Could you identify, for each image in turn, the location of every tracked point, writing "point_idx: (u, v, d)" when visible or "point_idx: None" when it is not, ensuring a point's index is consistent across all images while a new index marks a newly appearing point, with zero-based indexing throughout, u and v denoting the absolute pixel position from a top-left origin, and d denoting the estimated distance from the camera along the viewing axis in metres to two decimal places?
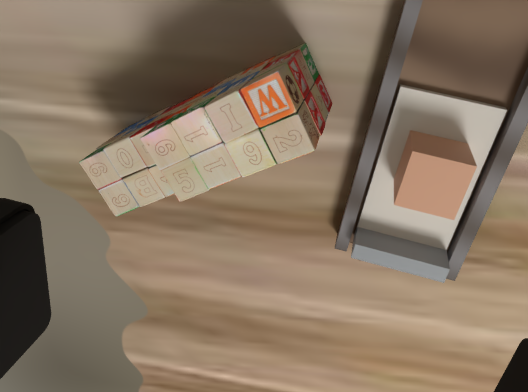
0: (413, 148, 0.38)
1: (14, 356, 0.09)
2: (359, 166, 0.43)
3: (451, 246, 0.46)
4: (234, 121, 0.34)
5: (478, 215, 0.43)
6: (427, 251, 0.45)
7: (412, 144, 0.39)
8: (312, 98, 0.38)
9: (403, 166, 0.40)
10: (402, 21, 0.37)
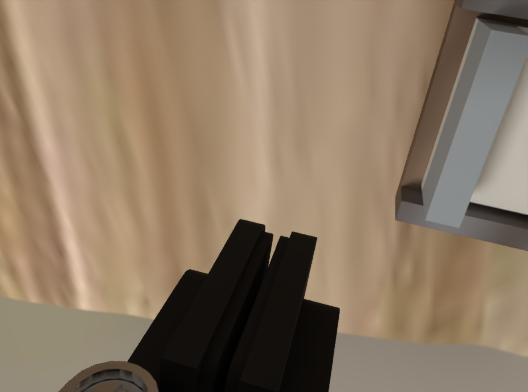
0: None
1: None
2: None
3: None
4: None
5: None
6: None
7: None
8: None
9: None
10: None
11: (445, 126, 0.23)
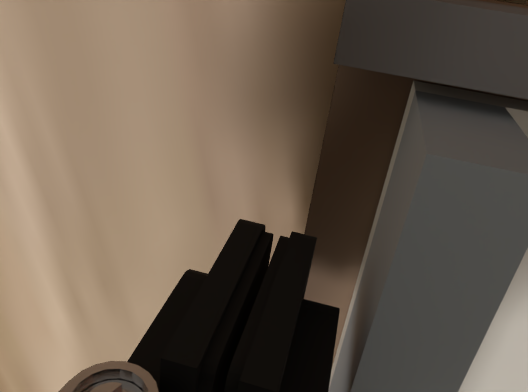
0: None
1: None
2: None
3: None
4: None
5: None
6: None
7: None
8: None
9: None
10: None
11: (355, 308, 0.11)
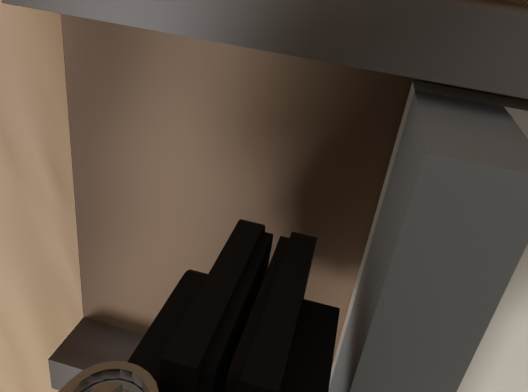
0: None
1: None
2: None
3: None
4: None
5: None
6: None
7: None
8: None
9: None
10: None
11: (354, 308, 0.11)
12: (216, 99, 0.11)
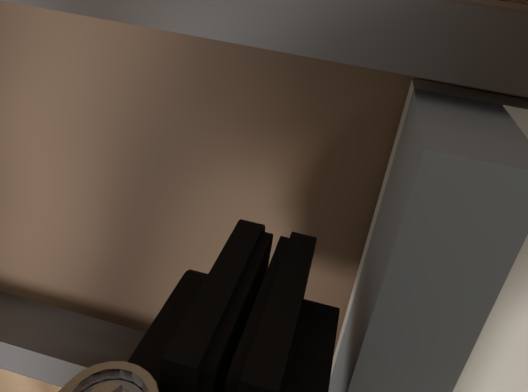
0: None
1: None
2: None
3: (44, 318, 0.15)
4: None
5: None
6: None
7: None
8: None
9: None
10: None
11: (354, 305, 0.11)
12: (60, 65, 0.11)
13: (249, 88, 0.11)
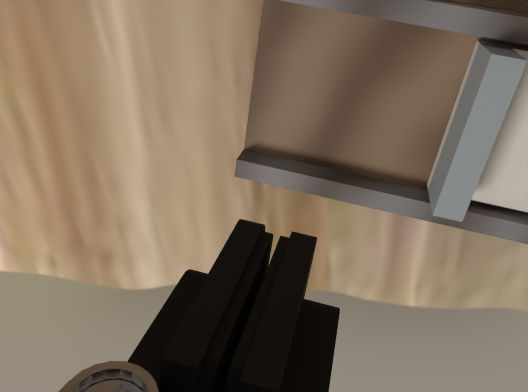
0: None
1: None
2: (441, 5, 0.23)
3: (285, 162, 0.30)
4: None
5: (351, 196, 0.29)
6: None
7: None
8: None
9: None
10: None
11: (449, 133, 0.27)
12: (324, 36, 0.27)
13: (409, 45, 0.26)
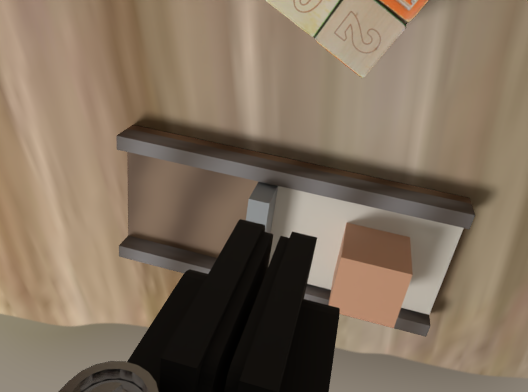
0: (411, 270, 0.33)
1: None
2: (227, 161, 0.37)
3: (154, 246, 0.44)
4: None
5: None
6: None
7: (411, 262, 0.34)
8: None
9: (381, 252, 0.35)
10: (392, 198, 0.35)
11: None
12: (168, 168, 0.40)
13: (221, 176, 0.40)
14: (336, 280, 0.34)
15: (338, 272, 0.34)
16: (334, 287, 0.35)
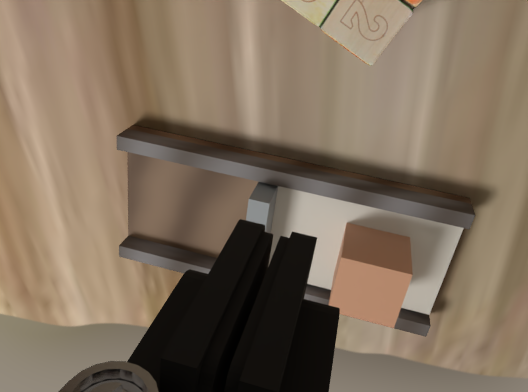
0: (411, 270, 0.33)
1: None
2: (227, 161, 0.37)
3: (154, 246, 0.44)
4: None
5: None
6: None
7: (411, 262, 0.34)
8: None
9: (381, 252, 0.35)
10: (392, 199, 0.35)
11: None
12: (168, 168, 0.40)
13: (221, 177, 0.40)
14: (336, 280, 0.34)
15: (338, 272, 0.34)
16: (334, 287, 0.35)
